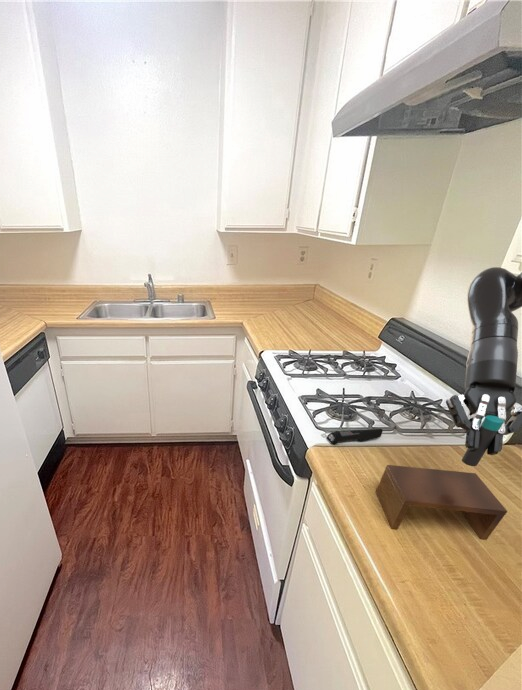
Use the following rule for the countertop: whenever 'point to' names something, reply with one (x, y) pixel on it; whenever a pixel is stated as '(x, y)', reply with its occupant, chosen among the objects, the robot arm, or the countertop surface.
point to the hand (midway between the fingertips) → (482, 452)
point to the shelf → (439, 496)
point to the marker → (483, 439)
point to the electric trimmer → (353, 435)
